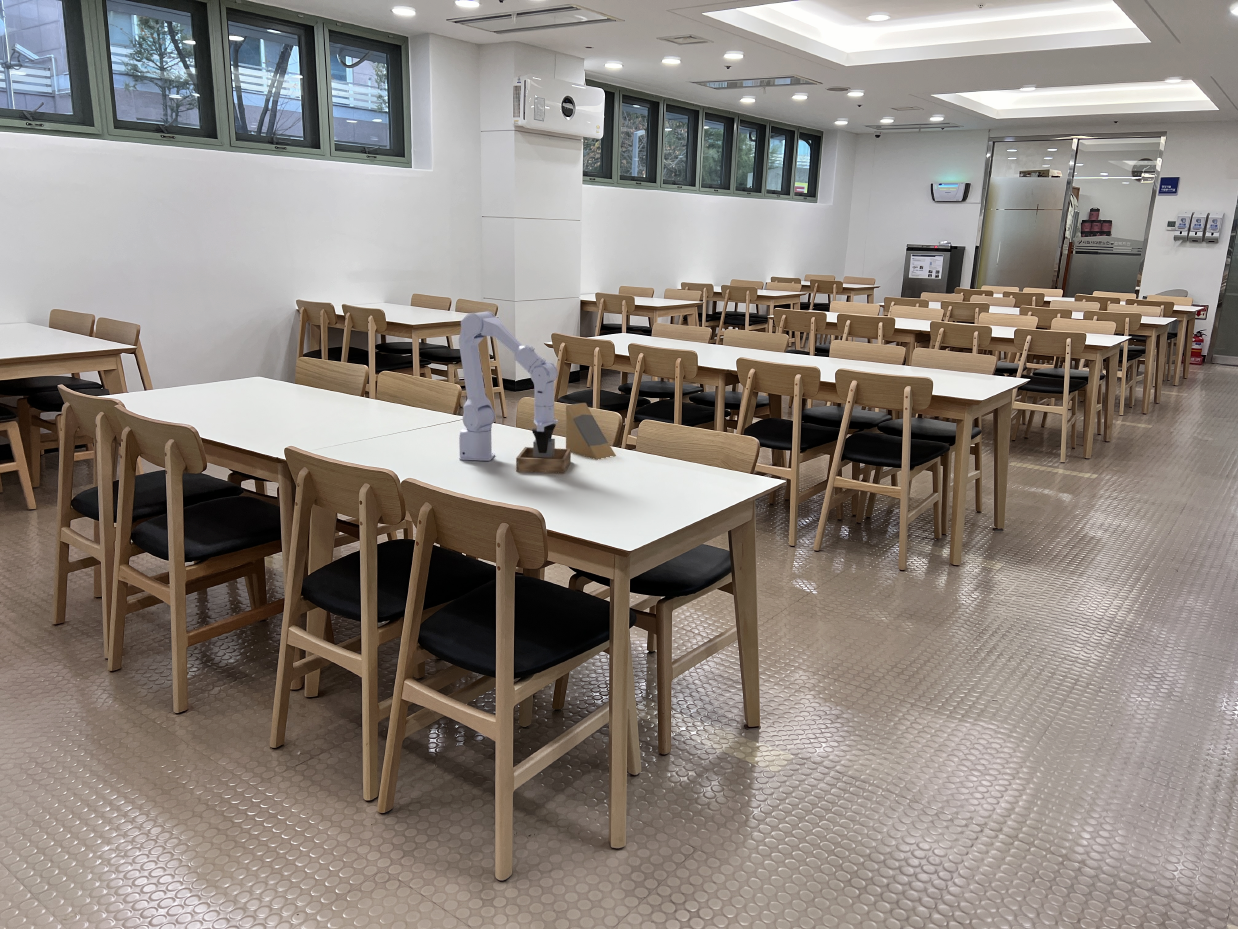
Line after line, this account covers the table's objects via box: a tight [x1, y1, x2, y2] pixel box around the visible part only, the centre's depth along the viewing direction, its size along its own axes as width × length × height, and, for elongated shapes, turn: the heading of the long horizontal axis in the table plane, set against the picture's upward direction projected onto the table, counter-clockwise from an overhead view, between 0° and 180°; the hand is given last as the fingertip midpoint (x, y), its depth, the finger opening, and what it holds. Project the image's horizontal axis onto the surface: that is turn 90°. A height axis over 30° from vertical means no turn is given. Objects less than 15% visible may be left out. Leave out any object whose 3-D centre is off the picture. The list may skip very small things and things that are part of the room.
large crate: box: [515, 446, 572, 475], centre depth 258 cm, size 14×14×4 cm
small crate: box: [532, 438, 556, 458], centre depth 257 cm, size 6×6×4 cm
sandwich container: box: [565, 402, 617, 460], centre depth 274 cm, size 9×15×15 cm, turn 44°
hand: (544, 450), depth 257 cm, fingers closed on small crate, 5 cm apart
